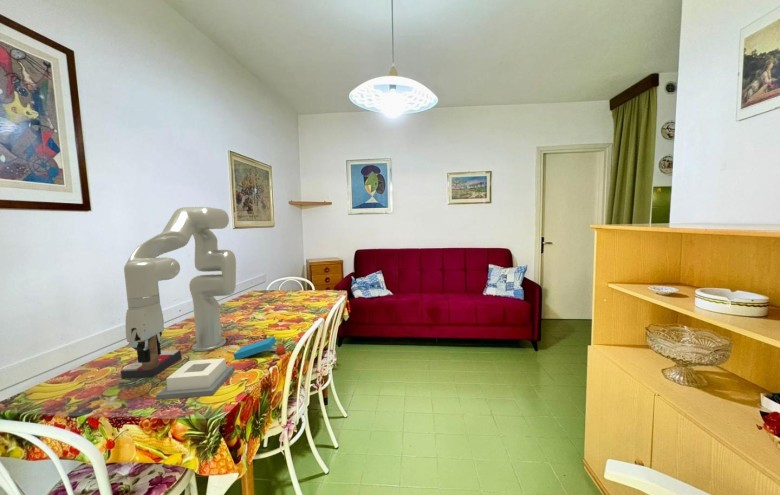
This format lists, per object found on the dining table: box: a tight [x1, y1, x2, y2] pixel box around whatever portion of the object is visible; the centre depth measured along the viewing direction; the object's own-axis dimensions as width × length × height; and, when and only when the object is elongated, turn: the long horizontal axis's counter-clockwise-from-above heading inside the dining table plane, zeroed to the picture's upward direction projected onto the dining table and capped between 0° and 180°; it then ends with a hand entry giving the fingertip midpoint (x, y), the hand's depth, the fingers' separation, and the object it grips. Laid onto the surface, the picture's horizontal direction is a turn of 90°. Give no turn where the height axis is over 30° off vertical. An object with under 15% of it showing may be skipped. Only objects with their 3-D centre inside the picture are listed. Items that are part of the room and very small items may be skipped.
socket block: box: [155, 357, 235, 401], centre depth 95 cm, size 16×16×6 cm
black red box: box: [120, 349, 182, 379], centre depth 108 cm, size 11×4×15 cm
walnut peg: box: [140, 335, 159, 370], centre depth 90 cm, size 4×4×10 cm
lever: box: [233, 336, 286, 361], centre depth 117 cm, size 7×7×18 cm
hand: (149, 357), depth 90 cm, fingers closed on walnut peg, 4 cm apart
